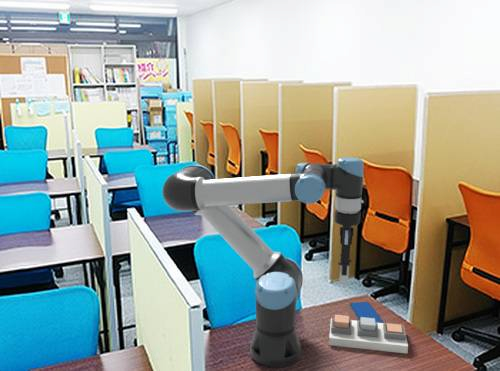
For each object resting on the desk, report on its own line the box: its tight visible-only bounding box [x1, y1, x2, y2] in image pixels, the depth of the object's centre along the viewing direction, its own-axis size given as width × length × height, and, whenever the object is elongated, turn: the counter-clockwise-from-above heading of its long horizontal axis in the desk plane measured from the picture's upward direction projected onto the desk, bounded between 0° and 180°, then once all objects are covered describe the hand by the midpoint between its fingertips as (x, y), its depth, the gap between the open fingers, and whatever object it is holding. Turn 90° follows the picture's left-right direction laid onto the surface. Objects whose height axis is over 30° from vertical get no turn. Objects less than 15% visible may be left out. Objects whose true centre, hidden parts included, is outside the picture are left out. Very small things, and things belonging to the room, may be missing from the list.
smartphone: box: [349, 301, 384, 323], centre depth 161 cm, size 7×1×15 cm
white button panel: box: [328, 317, 409, 354], centre depth 146 cm, size 23×12×4 cm, turn 78°
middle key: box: [360, 317, 376, 331], centre depth 145 cm, size 4×4×2 cm
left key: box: [334, 314, 350, 328], centre depth 147 cm, size 4×4×2 cm
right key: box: [386, 322, 403, 334], centre depth 144 cm, size 4×4×2 cm
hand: (343, 283), depth 144 cm, fingers closed
